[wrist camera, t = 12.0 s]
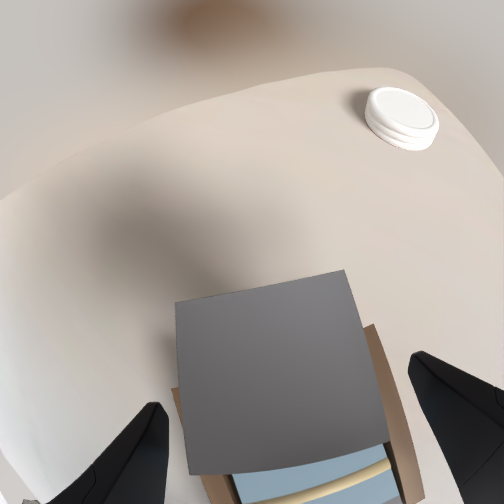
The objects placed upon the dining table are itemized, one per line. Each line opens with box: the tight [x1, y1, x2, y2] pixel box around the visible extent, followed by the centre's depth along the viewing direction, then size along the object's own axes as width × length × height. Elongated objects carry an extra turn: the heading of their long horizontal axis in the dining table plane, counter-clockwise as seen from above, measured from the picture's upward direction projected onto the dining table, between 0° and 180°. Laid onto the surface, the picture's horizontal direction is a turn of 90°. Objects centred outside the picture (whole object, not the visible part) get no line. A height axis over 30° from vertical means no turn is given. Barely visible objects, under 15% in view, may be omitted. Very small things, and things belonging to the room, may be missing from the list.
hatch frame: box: [171, 324, 425, 504], centre depth 16 cm, size 14×16×5 cm
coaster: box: [365, 87, 439, 151], centre depth 30 cm, size 10×10×4 cm
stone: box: [175, 270, 391, 475], centre depth 12 cm, size 5×5×12 cm
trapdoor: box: [232, 444, 402, 504], centre depth 15 cm, size 10×16×3 cm, turn 17°
